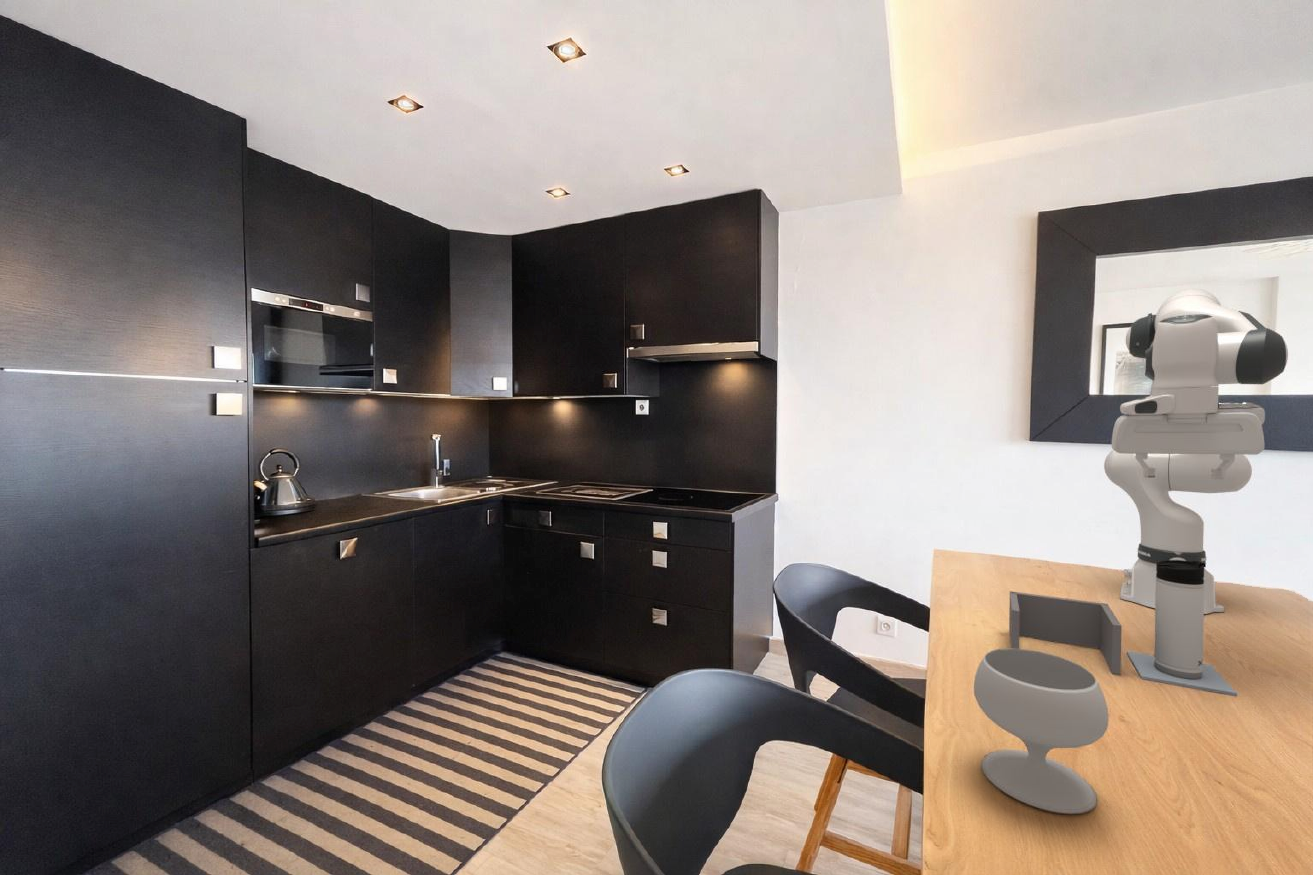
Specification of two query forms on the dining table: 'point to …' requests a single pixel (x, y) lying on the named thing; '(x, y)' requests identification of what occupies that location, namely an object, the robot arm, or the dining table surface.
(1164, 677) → the mat
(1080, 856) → the dining table surface
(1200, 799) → the dining table surface
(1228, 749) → the dining table surface
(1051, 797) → the chalice
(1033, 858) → the dining table surface
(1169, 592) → the travel mug
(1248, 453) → the robot arm
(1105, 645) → the grey u-shaped channel
